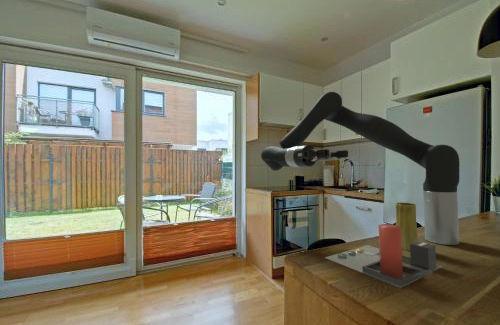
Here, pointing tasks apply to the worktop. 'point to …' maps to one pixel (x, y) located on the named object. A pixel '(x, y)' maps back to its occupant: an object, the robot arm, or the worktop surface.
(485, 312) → the worktop surface
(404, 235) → the vase
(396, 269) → the red tapered cylinder
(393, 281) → the panel
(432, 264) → the breaker
